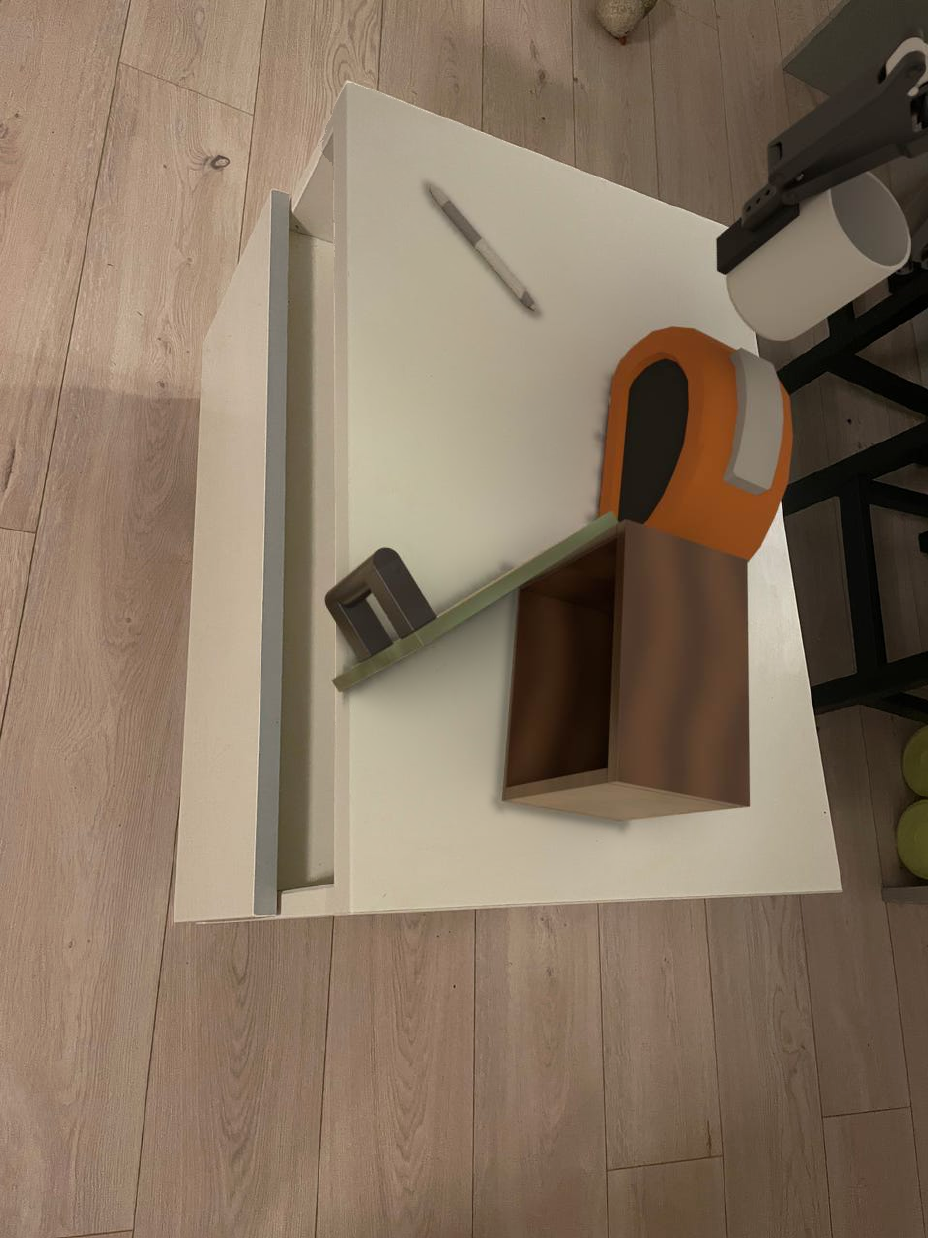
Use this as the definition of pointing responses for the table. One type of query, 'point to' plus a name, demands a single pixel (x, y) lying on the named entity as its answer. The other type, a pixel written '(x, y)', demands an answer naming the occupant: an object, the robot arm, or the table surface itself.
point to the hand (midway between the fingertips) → (765, 277)
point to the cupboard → (631, 680)
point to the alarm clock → (697, 441)
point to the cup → (821, 259)
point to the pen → (482, 247)
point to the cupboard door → (421, 602)
